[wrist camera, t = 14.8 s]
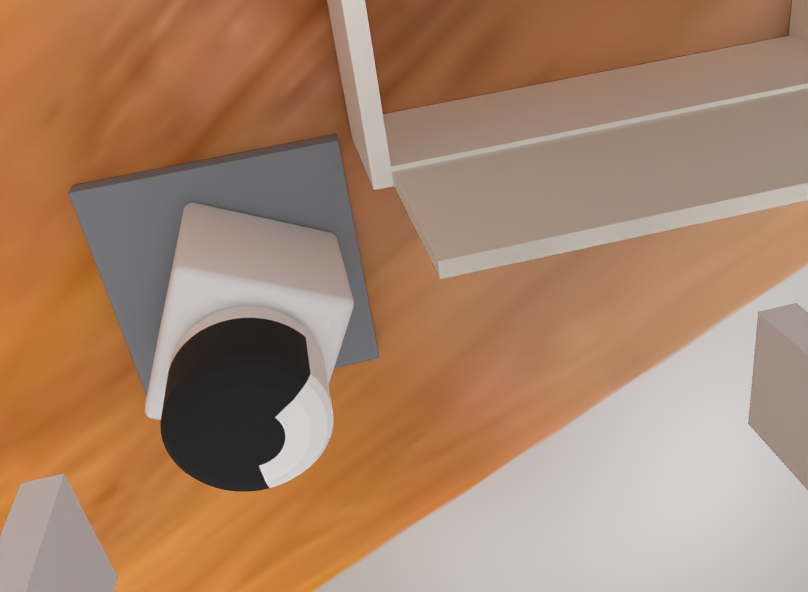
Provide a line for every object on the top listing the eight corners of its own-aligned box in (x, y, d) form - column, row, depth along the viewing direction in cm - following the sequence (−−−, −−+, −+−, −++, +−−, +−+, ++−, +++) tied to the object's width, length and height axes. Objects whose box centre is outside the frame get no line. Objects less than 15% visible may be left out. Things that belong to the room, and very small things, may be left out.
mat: (335, 134, 35) (337, 140, 34) (376, 348, 41) (379, 357, 40) (72, 185, 34) (68, 193, 33) (153, 397, 40) (151, 408, 39)
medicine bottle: (159, 332, 37) (126, 505, 27) (185, 198, 34) (160, 335, 24) (301, 355, 39) (322, 524, 29) (338, 231, 36) (375, 370, 26)
